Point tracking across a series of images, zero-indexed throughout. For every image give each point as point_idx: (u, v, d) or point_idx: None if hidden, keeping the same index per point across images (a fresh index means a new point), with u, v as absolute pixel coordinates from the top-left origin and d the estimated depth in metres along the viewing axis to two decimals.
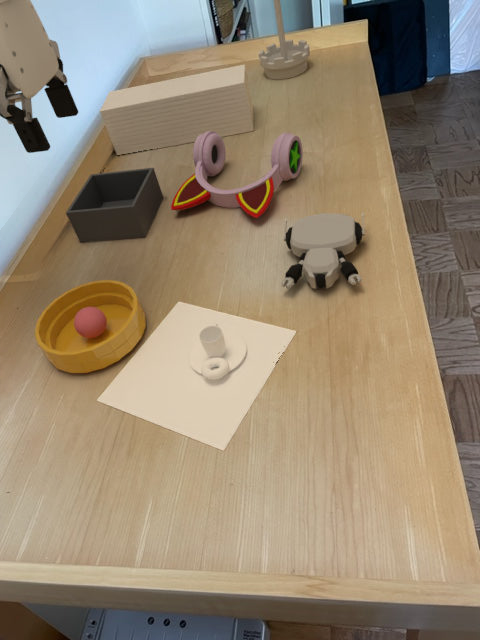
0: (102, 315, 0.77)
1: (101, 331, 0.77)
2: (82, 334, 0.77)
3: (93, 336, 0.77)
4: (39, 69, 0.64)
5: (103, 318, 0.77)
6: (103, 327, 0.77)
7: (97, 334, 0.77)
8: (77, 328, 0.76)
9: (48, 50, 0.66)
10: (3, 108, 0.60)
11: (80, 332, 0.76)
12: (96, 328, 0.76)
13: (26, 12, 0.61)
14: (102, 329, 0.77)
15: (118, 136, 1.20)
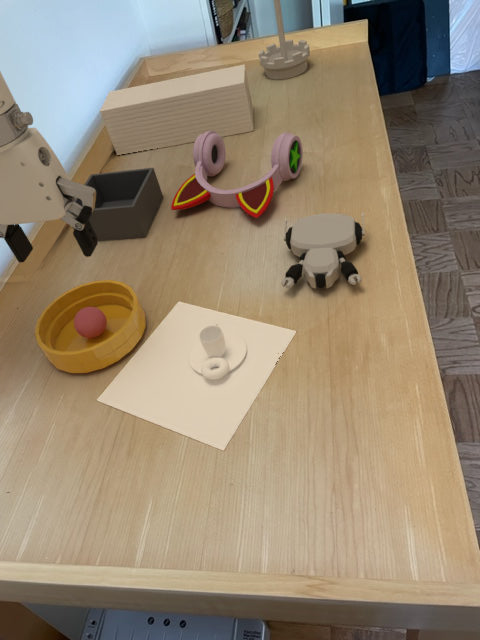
0: (102, 315, 0.77)
1: (101, 331, 0.77)
2: (82, 334, 0.77)
3: (93, 336, 0.77)
4: (15, 211, 0.63)
5: (103, 318, 0.77)
6: (103, 327, 0.77)
7: (97, 334, 0.77)
8: (77, 328, 0.76)
9: (40, 202, 0.62)
10: None
11: (80, 332, 0.76)
12: (96, 328, 0.76)
13: (6, 168, 0.59)
14: (102, 329, 0.77)
15: (118, 136, 1.20)
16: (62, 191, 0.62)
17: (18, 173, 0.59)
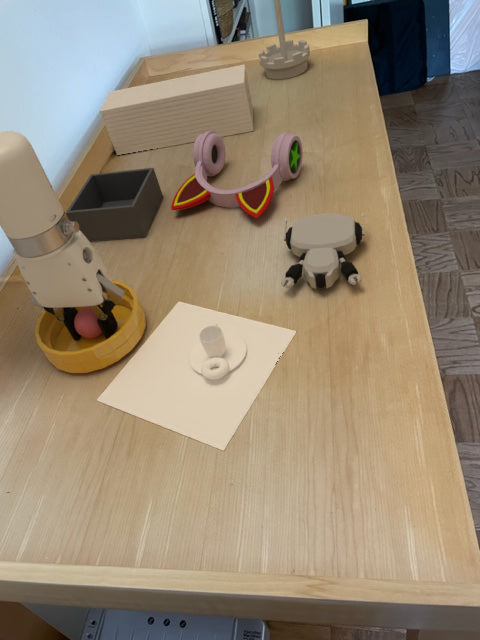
0: None
1: (101, 331, 0.77)
2: (82, 334, 0.77)
3: (93, 336, 0.77)
4: (59, 298, 0.72)
5: None
6: None
7: (97, 334, 0.77)
8: (77, 328, 0.76)
9: (82, 292, 0.70)
10: None
11: (80, 332, 0.76)
12: (96, 328, 0.76)
13: (54, 266, 0.67)
14: None
15: (118, 136, 1.20)
16: (101, 282, 0.71)
17: (64, 271, 0.68)
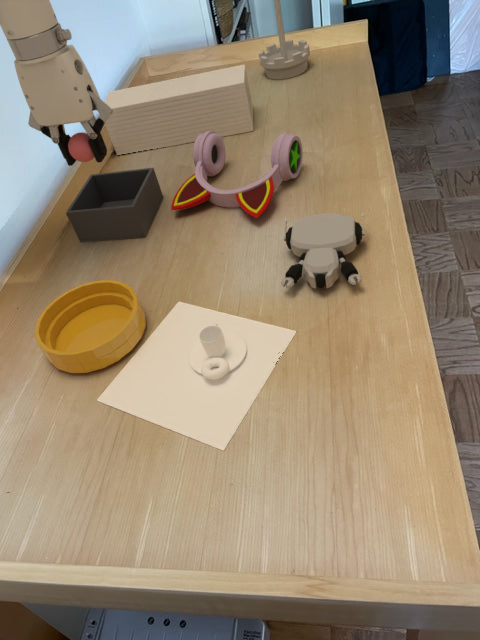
0: None
1: (92, 154, 0.87)
2: (75, 155, 0.86)
3: (85, 158, 0.86)
4: (54, 113, 0.81)
5: None
6: None
7: (88, 156, 0.86)
8: (71, 149, 0.86)
9: (74, 104, 0.80)
10: (38, 129, 0.86)
11: (73, 153, 0.86)
12: (87, 149, 0.86)
13: (50, 74, 0.77)
14: None
15: (118, 136, 1.20)
16: (91, 96, 0.80)
17: (59, 78, 0.77)
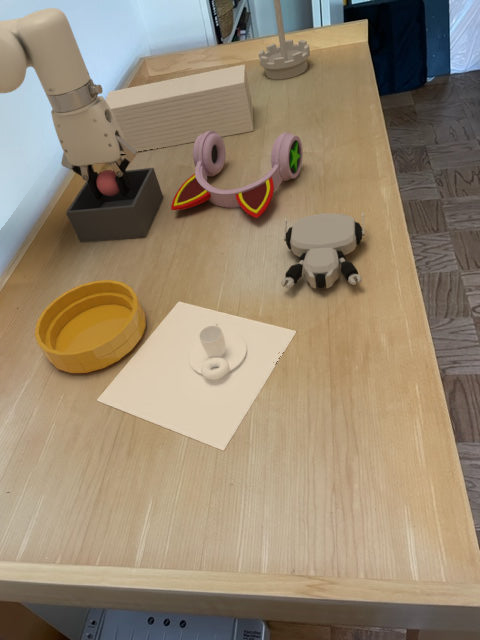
0: None
1: (118, 189, 0.97)
2: (103, 190, 0.96)
3: (112, 193, 0.97)
4: (85, 155, 0.91)
5: None
6: None
7: (115, 191, 0.97)
8: (99, 185, 0.96)
9: (104, 148, 0.90)
10: None
11: (101, 189, 0.96)
12: (114, 185, 0.96)
13: (83, 123, 0.87)
14: None
15: None
16: (118, 141, 0.90)
17: (91, 127, 0.87)
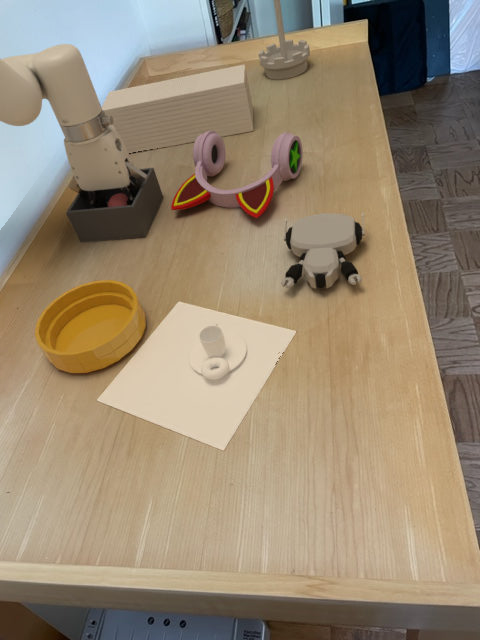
0: None
1: None
2: None
3: None
4: (96, 181, 0.95)
5: None
6: None
7: None
8: None
9: (114, 175, 0.93)
10: (76, 191, 0.99)
11: None
12: None
13: (94, 152, 0.90)
14: None
15: None
16: (128, 168, 0.94)
17: (102, 155, 0.91)
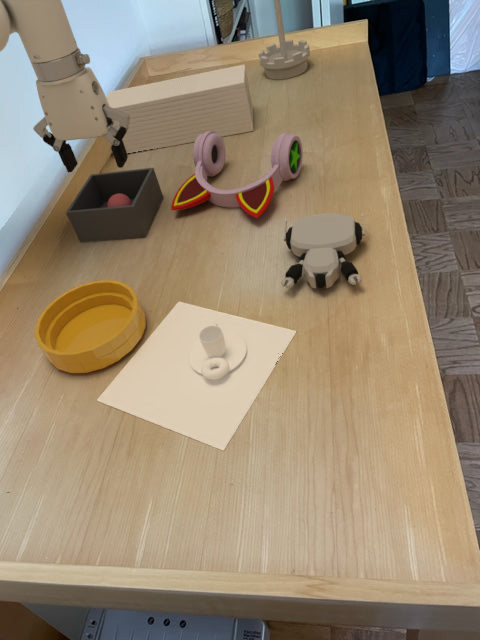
0: (129, 200, 1.00)
1: None
2: None
3: None
4: (71, 129, 0.88)
5: (130, 202, 1.00)
6: None
7: None
8: None
9: (90, 121, 0.87)
10: (40, 135, 0.92)
11: None
12: None
13: (69, 94, 0.84)
14: None
15: None
16: (106, 115, 0.87)
17: (77, 98, 0.84)
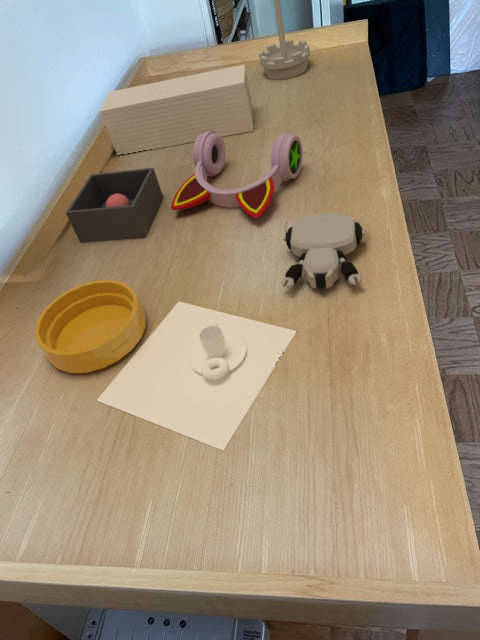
0: (127, 199, 1.00)
1: None
2: None
3: None
4: None
5: (127, 201, 1.00)
6: None
7: None
8: None
9: None
10: None
11: None
12: None
13: None
14: None
15: (118, 136, 1.20)
16: None
17: None
